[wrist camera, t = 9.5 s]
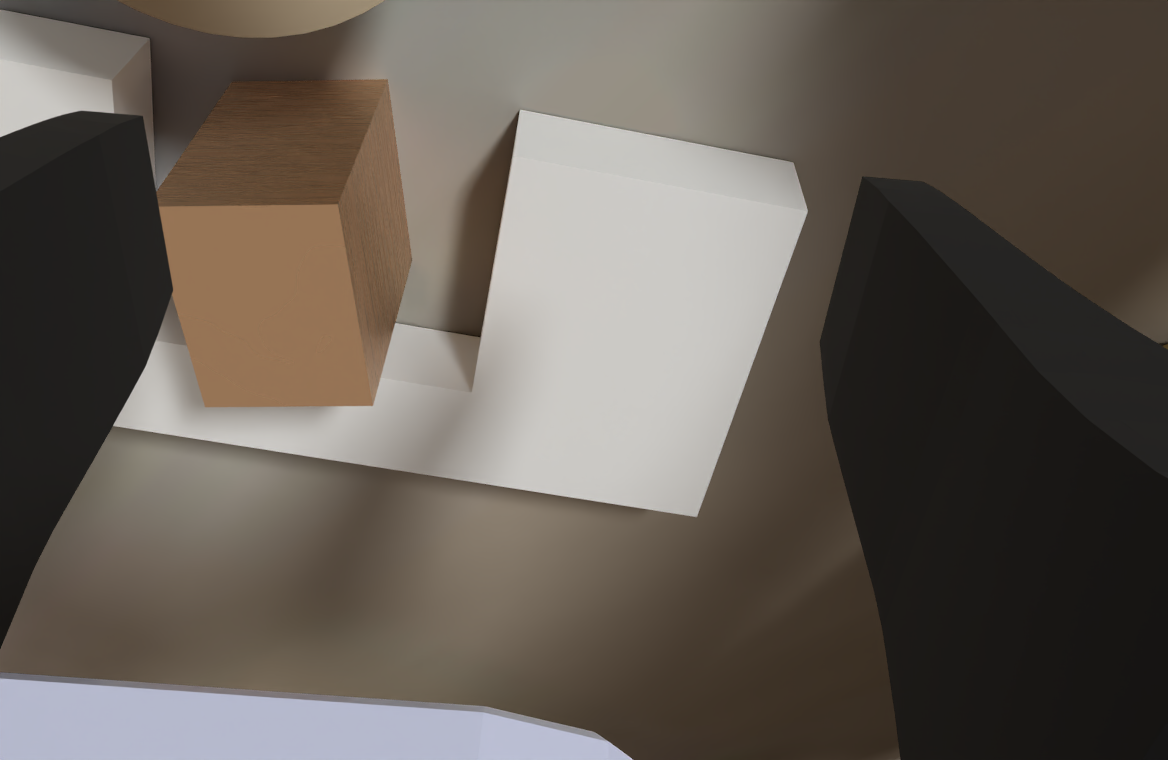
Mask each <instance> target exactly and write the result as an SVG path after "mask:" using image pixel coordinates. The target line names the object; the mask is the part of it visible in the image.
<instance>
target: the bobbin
mask: <svg viewBox="0 0 1168 760" xmlns="http://www.w3.org/2000/svg"><path fill="white" fill-rule="evenodd" d="M117 1H119V2H121V3H123V4H125V5H127V6H129V7H131V8H133V9H135V10H137V11H139V12H141V13H144V14H147V15H149V16H152V17H154V18H157V19H160V20H162V21H165V22H168V23H170V24H173V25H177V26H181V27H185V28H188V29H192V30H196V31H200V32H204V33H209V34H217V35H224V36H232V37H240V38H274V37H282V36H290V35H298V34H305V33H309V32H313V31H316V30H320V29H324V28H327V27H331V26H335V25H337V24H339V23H342V22H344V21H346V20H349V19H351V18H353V17H356V16H358V15H360V14H363V13H365V12H366V11H368V10H370V9H371V8H373V7H375V6H376V5H378V4H379V3H381V2H383V1H384V0H117Z"/></svg>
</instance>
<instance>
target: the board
mask: <svg viewBox="0 0 1168 760" xmlns="http://www.w3.org/2000/svg"><path fill="white" fill-rule="evenodd" d="M77 111H93V112H105V113H116V114H128V115H140V116H143V119H144V125H145V131H146V136H147V142H148V148H149V154H150V159H151V165H152V171H153V176H154V182H155V188H156V176H155V152H154V127H153V103H152V78H151V54H150V38H146V37H141V36H136V35H130V34H125V33H120V32H115V31H110V30H104V29H99V28H94V27H89V26H84V25H78V24H73V23H68V22H63V21H58V20H53V19H47V18H42V17H37V16H32V15H27V14H21V13H16V12H11V11H6V10H1V9H0V137H2V136H4V135H7V134H9V133H12V132H14V131H17V130H20V129H22V128H25V127H28V126H30V125H33V124H36V123H38V122H41V121H44V120H47V119H50V118H53V117H57V116H60V115H63V114H68V113H72V112H77ZM807 213H808V210H807V206H806V203H805V200H804V196H803V193H802V190H801V186H800V183H799V180H798V176H797V173H796V169H795V166H794V163H793V162H789V161H784V160H779V159H773V158H768V157H763V156H758V155H753V154H747V153H742V152H737V151H732V150H727V149H721V148H716V147H711V146H706V145H701V144H696V143H690V142H685V141H680V140H675V139H670V138H664V137H659V136H654V135H649V134H644V133H638V132H633V131H628V130H623V129H618V128H613V127H607V126H602V125H597V124H592V123H587V122H581V121H576V120H571V119H566V118H561V117H556V116H550V115H545V114H540V113H535V112H530V111H524V110H520V113H519V118H518V124H517V130H516V136H515V141H514V147H513V153H512V159H511V165H510V170H509V176H508V182H507V188H506V193H505V199H504V205H503V211H502V216H501V222H500V228H499V234H498V239H497V245H496V251H495V257H494V262H493V268H492V274H491V280H490V285H489V291H488V297H487V303H486V309H485V314H484V320H483V326H482V332H481V337H474V336H469V335H463V334H457V333H451V332H445V331H439V330H433V329H427V328H422V327H416V326H410V325H404V324H398V323H395V326H394V329H393V333H392V337H391V341H390V344H389V348H388V352H387V356H386V359H385V363H384V367H383V371H382V374H381V378H380V382H379V386H378V389H377V393H376V397H375V401H374V404H373V406H305V407H205V405H204V402H203V399H202V395H201V392H200V388H199V385H198V382H197V378H196V375H195V371H194V368H193V364H192V361H191V358H190V354H189V351H188V347H187V344H186V341H185V337H184V334H183V330H182V327H181V324H180V320H179V317H178V313H177V310H176V307H175V303H174V300H173V296H172V295H171V298H170V301H169V304H168V307H167V310H166V313H165V316H164V319H163V322H162V325H161V328H160V331H159V333H158V336H157V339H156V341H155V344H154V346H153V349H152V351H151V354H150V357H149V359H148V362H147V364H146V367H145V369H144V370H143V372H142V374H141V376H140V378H139V380H138V382H137V384H136V385H135V387H134V389H133V391H132V393H131V394H130V396H129V398H128V400H127V402H126V403H125V405H124V407H123V409H122V411H121V412H120V414H119V416H118V418H117V420H116V421H115V423H114V425H113V426H117V427H123V428H130V429H136V430H143V431H149V432H155V433H162V434H168V435H175V436H181V437H187V438H194V439H200V440H207V441H213V442H219V443H226V444H232V445H239V446H245V447H251V448H258V449H264V450H271V451H277V452H284V453H290V454H296V455H303V456H309V457H316V458H322V459H328V460H335V461H341V462H348V463H354V464H360V465H367V466H373V467H380V468H386V469H392V470H399V471H405V472H412V473H418V474H424V475H431V476H437V477H444V478H450V479H457V480H463V481H469V482H476V483H482V484H489V485H495V486H501V487H508V488H514V489H521V490H527V491H533V492H540V493H546V494H553V495H559V496H565V497H572V498H578V499H585V500H591V501H597V502H604V503H610V504H617V505H623V506H630V507H636V508H642V509H649V510H655V511H662V512H668V513H674V514H681V515H687V516H694V517H697V515H698V513H699V510H700V507H701V504H702V502H703V499H704V496H705V493H706V490H707V488H708V485H709V482H710V479H711V477H712V474H713V471H714V468H715V466H716V463H717V460H718V457H719V455H720V452H721V449H722V446H723V444H724V441H725V438H726V435H727V433H728V430H729V427H730V424H731V422H732V419H733V416H734V413H735V411H736V408H737V405H738V402H739V400H740V397H741V394H742V391H743V389H744V386H745V383H746V380H747V378H748V375H749V372H750V369H751V367H752V364H753V361H754V358H755V356H756V353H757V350H758V347H759V345H760V342H761V339H762V336H763V334H764V331H765V328H766V325H767V323H768V320H769V317H770V314H771V312H772V309H773V306H774V303H775V301H776V298H777V295H778V292H779V290H780V287H781V284H782V281H783V279H784V276H785V273H786V270H787V268H788V265H789V262H790V259H791V257H792V254H793V251H794V248H795V246H796V243H797V240H798V237H799V235H800V232H801V229H802V226H803V224H804V221H805V218H806V215H807Z"/></svg>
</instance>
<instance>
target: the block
mask: <svg viewBox="0 0 1168 760" xmlns="http://www.w3.org/2000/svg"><path fill="white" fill-rule="evenodd" d="M156 194H157V199H158V205H159V211H160V216H161V222H162V228H163V233H164V239H165V245H166V251H167V256H168V262H169V268H170V273H171V279H172V285H173V293H172V296H173V300H174V303H175V307H176V310H177V313H178V317H179V320H180V324H181V327H182V330H183V334H184V337H185V341H186V344H187V347H188V351H189V354H190V358H191V361H192V364H193V368H194V371H195V375H196V378H197V382H198V385H199V388H200V392H201V395H202V399H203V402H204V405H205V407H305V406H373V404H374V401H375V397H376V393H377V389H378V386H379V382H380V378H381V374H382V371H383V367H384V363H385V359H386V356H387V352H388V348H389V344H390V341H391V337H392V333H393V329H394V326H395V322H396V318H397V314H398V311H399V307H400V303H401V299H402V296H403V292H404V288H405V284H406V281H407V277H408V273H409V269H410V266H411V262H412V256H411V248H410V241H409V233H408V226H407V219H406V211H405V204H404V196H403V189H402V181H401V174H400V167H399V159H398V152H397V144H396V137H395V129H394V122H393V115H392V107H391V100H390V92H389V85H388V79H380V80H312V81H244V82H231V84H230V85H229V87H228V88H227V90H226V91H225V92H224V94H223V95H222V97H221V98H220V100H219V101H218V103H217V104H216V106H215V107H214V109H213V110H212V111H211V113H210V114H209V116H208V117H207V119H206V120H205V122H204V123H203V125H202V126H201V128H200V129H199V130H198V132H197V133H196V135H195V136H194V138H193V139H192V141H191V142H190V144H189V145H188V147H187V148H186V149H185V151H184V152H183V154H182V155H181V157H180V158H179V160H178V161H177V163H176V164H175V166H174V167H173V168H172V170H171V171H170V173H169V174H168V176H167V177H166V179H165V180H164V182H163V183H162V185H161V186H160V187H159V189H158V190H157V192H156Z"/></svg>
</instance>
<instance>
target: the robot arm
mask: <svg viewBox="0 0 1168 760" xmlns="http://www.w3.org/2000/svg"><path fill="white" fill-rule="evenodd" d="M172 293H173V285H172V279H171V273H170V268H169V262H168V256H167V251H166V245H165V239H164V233H163V228H162V222H161V216H160V211H159V205H158V199H157V194H156V188H155V182H154V176H153V171H152V165H151V159H150V154H149V148H148V142H147V136H146V131H145V125H144V119H143V116H140V115H128V114H116V113H105V112H93V111H77V112H72V113H68V114H63V115H60V116H57V117H53V118H50V119H47V120H44V121H41V122H38V123H36V124H33V125H30V126H28V127H25V128H22V129H20V130H17V131H14V132H12V133H9V134H7V135H4V136H2V137H0V648H1V646H2V643H3V641H4V639H5V636H6V634H7V631H8V629H9V627H10V624H11V622H12V619H13V617H14V615H15V612H16V610H17V608H18V605H19V603H20V600H21V598H22V596H23V593H24V591H25V588H26V586H27V584H28V581H29V579H30V576H31V574H32V572H33V569H34V567H35V565H36V563H37V561H38V559H39V557H40V555H41V553H42V551H43V549H44V547H45V545H46V543H47V541H48V539H49V538H50V536H51V534H52V532H53V530H54V528H55V526H56V524H57V523H58V521H59V519H60V517H61V516H62V514H63V512H64V510H65V509H66V507H67V505H68V503H69V502H70V500H71V498H72V496H73V495H74V493H75V491H76V489H77V488H78V486H79V484H80V482H81V481H82V479H83V477H84V475H85V474H86V472H87V470H88V468H89V467H90V465H91V463H92V462H93V460H94V458H95V456H96V455H97V453H98V451H99V449H100V448H101V446H102V444H103V442H104V441H105V439H106V437H107V435H108V434H109V432H110V430H111V428H112V427H113V425H114V423H115V421H116V420H117V418H118V416H119V414H120V412H121V411H122V409H123V407H124V405H125V403H126V402H127V400H128V398H129V396H130V394H131V393H132V391H133V389H134V387H135V385H136V384H137V382H138V380H139V378H140V376H141V374H142V372H143V370H144V369H145V367H146V364H147V362H148V359H149V357H150V354H151V351H152V349H153V346H154V344H155V341H156V339H157V336H158V333H159V331H160V328H161V325H162V322H163V319H164V316H165V313H166V310H167V307H168V304H169V301H170V298H171V295H172ZM820 349H821V360H822V370H823V381H824V390H825V398H826V406H827V414H828V421H829V425H830V429H831V433H832V437H833V441H834V445H835V448H836V452H837V456H838V460H839V464H840V467H841V471H842V475H843V479H844V483H845V486H846V490H847V494H848V497H849V501H850V505H851V508H852V512H853V516H854V519H855V523H856V526H857V530H858V534H859V537H860V541H861V545H862V548H863V552H864V556H865V559H866V563H867V567H868V570H869V574H870V578H871V581H872V585H873V589H874V593H875V597H876V602H877V607H878V611H879V616H880V620H881V625H882V630H883V636H884V643H885V649H886V656H887V663H888V670H889V677H890V683H891V690H892V697H893V704H894V711H895V718H896V726H897V734H898V742H899V750H900V758H901V760H1168V349H1166V348H1164V347H1163V346H1161V345H1159V344H1158V343H1156V342H1154V341H1153V340H1151V339H1149V338H1148V337H1146V336H1144V335H1143V334H1141V333H1139V332H1138V331H1136V330H1134V329H1133V328H1131V327H1130V326H1128V325H1127V324H1125V323H1124V322H1122V321H1121V320H1119V319H1117V318H1116V317H1114V316H1113V315H1111V314H1110V313H1108V312H1107V311H1105V310H1104V309H1102V308H1101V307H1099V306H1098V305H1096V304H1095V303H1093V302H1091V301H1090V300H1088V299H1087V298H1085V297H1084V296H1082V295H1081V294H1080V293H1078V292H1077V291H1075V290H1074V289H1072V288H1071V287H1070V286H1068V285H1067V284H1065V283H1064V282H1062V281H1061V280H1060V279H1058V278H1057V277H1055V276H1054V275H1053V274H1051V273H1050V272H1048V271H1047V270H1046V269H1044V268H1043V267H1042V266H1040V265H1039V264H1038V263H1036V262H1035V261H1033V260H1032V259H1031V258H1029V257H1028V256H1027V255H1025V254H1024V253H1023V252H1021V251H1020V250H1019V249H1017V248H1016V247H1015V246H1013V245H1012V244H1011V243H1009V242H1008V241H1007V240H1005V239H1004V238H1003V237H1001V236H1000V235H999V234H998V233H996V232H995V231H994V230H992V229H991V228H990V227H988V226H987V225H986V224H984V223H983V222H982V221H980V220H979V219H978V218H976V217H975V216H974V215H972V214H971V213H970V212H968V211H967V210H966V209H964V208H963V207H962V206H960V205H959V204H957V203H956V202H955V201H953V200H952V199H950V198H949V197H947V196H946V195H945V194H943V193H942V192H940V191H938V190H937V189H935V188H933V187H932V186H930V185H928V184H926V183H924V182H920V181H909V180H897V179H885V178H873V177H862V181H861V184H860V188H859V192H858V196H857V200H856V204H855V208H854V211H853V215H852V219H851V223H850V227H849V231H848V235H847V239H846V242H845V246H844V250H843V254H842V258H841V262H840V266H839V269H838V273H837V277H836V281H835V285H834V289H833V293H832V297H831V300H830V304H829V308H828V312H827V316H826V320H825V324H824V327H823V331H822V335H821V339H820ZM0 760H633V759H632V758H630V757H629V756H628V755H626V754H625V753H624V752H622V751H621V750H619V749H618V748H617V747H615V746H614V745H613V744H611V743H610V742H608V741H607V740H606V739H604V738H603V737H601V736H600V735H598V734H597V733H595V732H593V731H588V730H584V729H580V728H576V727H571V726H567V725H563V724H558V723H554V722H550V721H546V720H541V719H537V718H533V717H529V716H524V715H520V714H516V713H512V712H507V711H503V710H499V709H495V708H490V707H486V706H474V705H460V704H446V703H432V702H417V701H403V700H389V699H375V698H360V697H346V696H332V695H318V694H303V693H289V692H275V691H261V690H247V689H232V688H218V687H204V686H190V685H175V684H161V683H147V682H133V681H118V680H104V679H90V678H76V677H61V676H47V675H33V674H19V673H5V672H0Z"/></svg>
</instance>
